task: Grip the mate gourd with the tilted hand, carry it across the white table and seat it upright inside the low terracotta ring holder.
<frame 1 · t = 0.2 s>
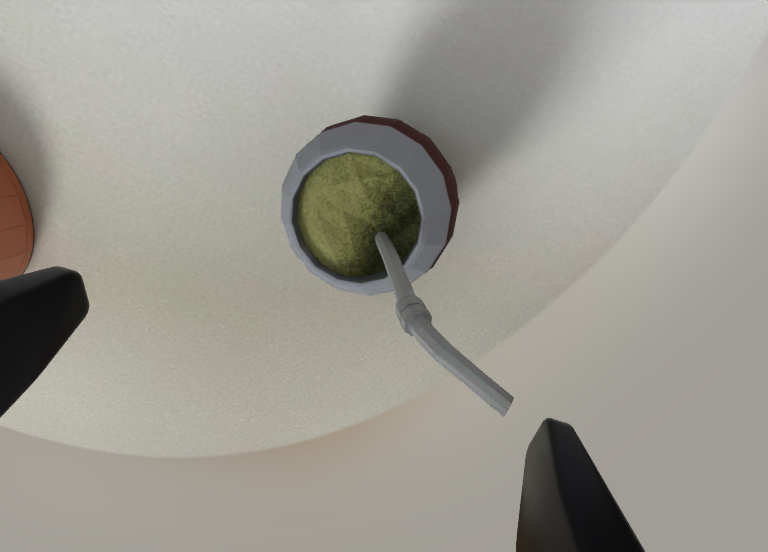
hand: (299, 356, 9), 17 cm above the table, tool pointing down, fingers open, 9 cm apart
mate gourd: (401, 190, 24), on the table
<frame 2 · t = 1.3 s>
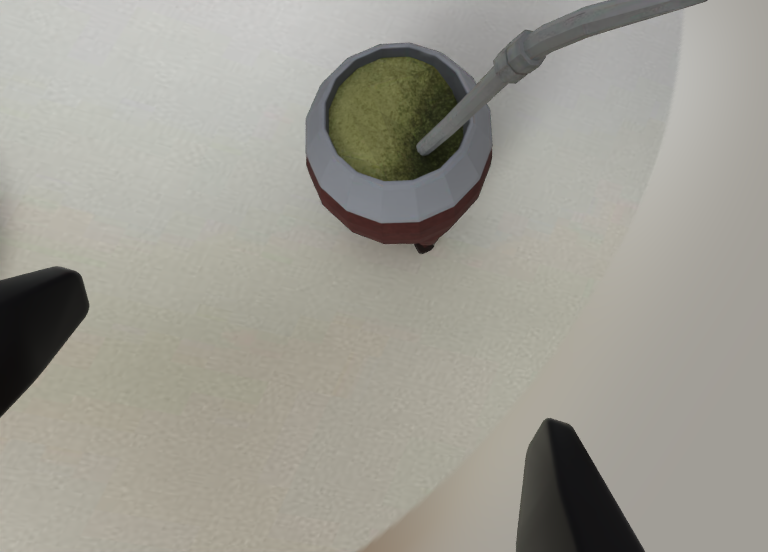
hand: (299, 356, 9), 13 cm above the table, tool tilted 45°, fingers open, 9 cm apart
mate gourd: (410, 197, 23), on the table
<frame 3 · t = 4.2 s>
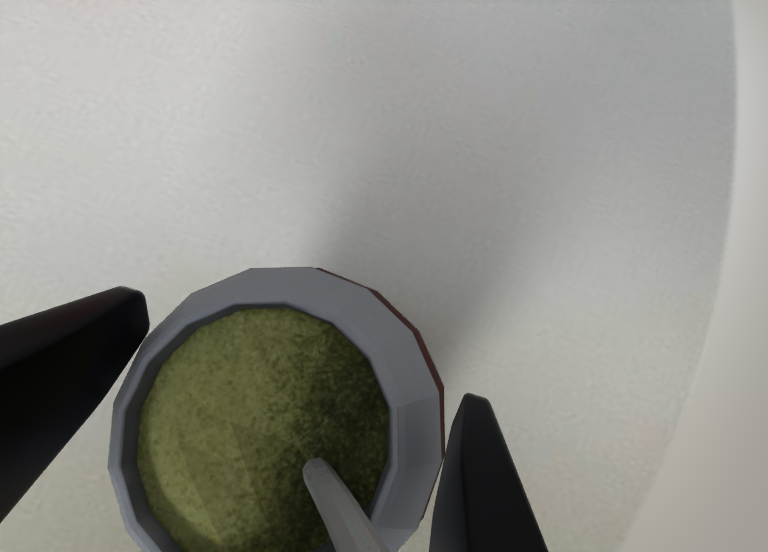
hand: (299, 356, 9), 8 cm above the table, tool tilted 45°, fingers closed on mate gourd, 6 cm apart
mate gourd: (343, 402, 16), on the table, touching gripper
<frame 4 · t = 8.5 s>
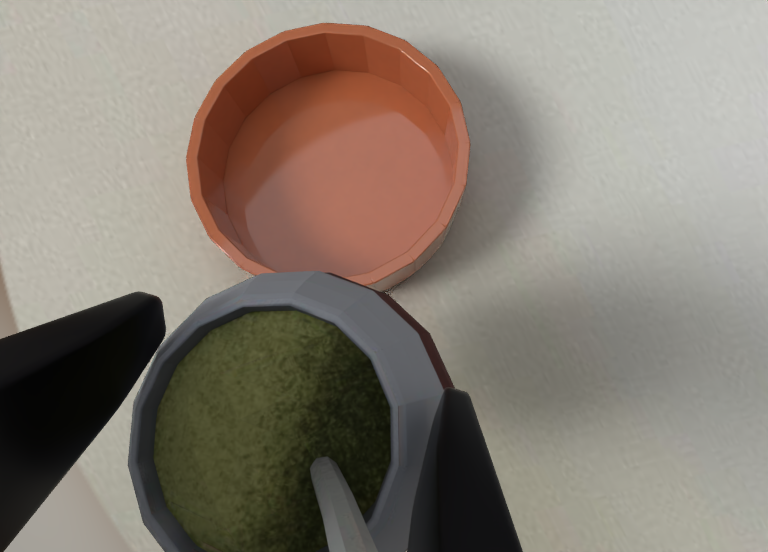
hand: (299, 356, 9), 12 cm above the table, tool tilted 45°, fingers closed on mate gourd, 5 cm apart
mate gourd: (365, 407, 16), point 4 cm above the table, touching gripper
holder: (338, 179, 22), on the table
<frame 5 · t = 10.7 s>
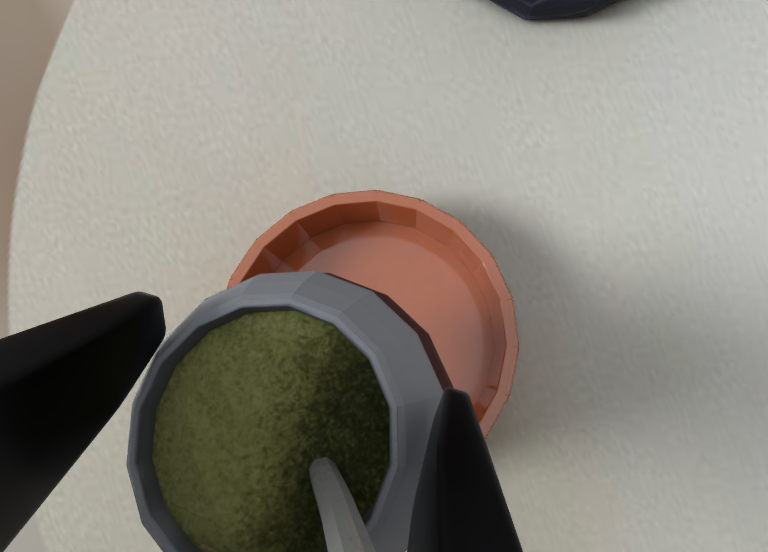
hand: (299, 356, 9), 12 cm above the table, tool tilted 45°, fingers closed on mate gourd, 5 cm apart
mate gourd: (364, 407, 16), point 4 cm above the table, touching gripper
holder: (371, 338, 21), on the table
when the fingers open (9 cm above the table, at t = 12.6 s): mate gourd stays where it is, resting on holder.
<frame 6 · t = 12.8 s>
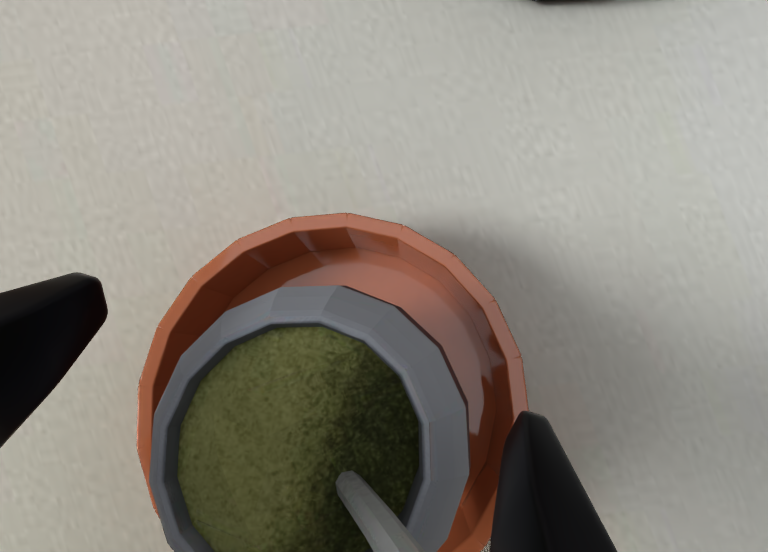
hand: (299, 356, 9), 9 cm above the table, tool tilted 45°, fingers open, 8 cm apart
mate gourd: (363, 413, 16), resting on holder, touching gripper
holder: (343, 394, 17), on the table
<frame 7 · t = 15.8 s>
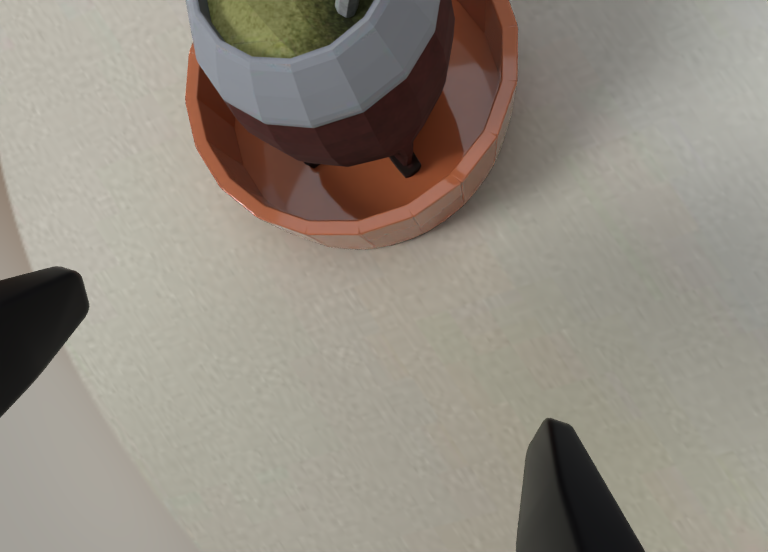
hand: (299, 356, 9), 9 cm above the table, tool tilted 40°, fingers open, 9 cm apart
mate gourd: (382, 113, 18), resting on holder
holder: (362, 108, 19), on the table
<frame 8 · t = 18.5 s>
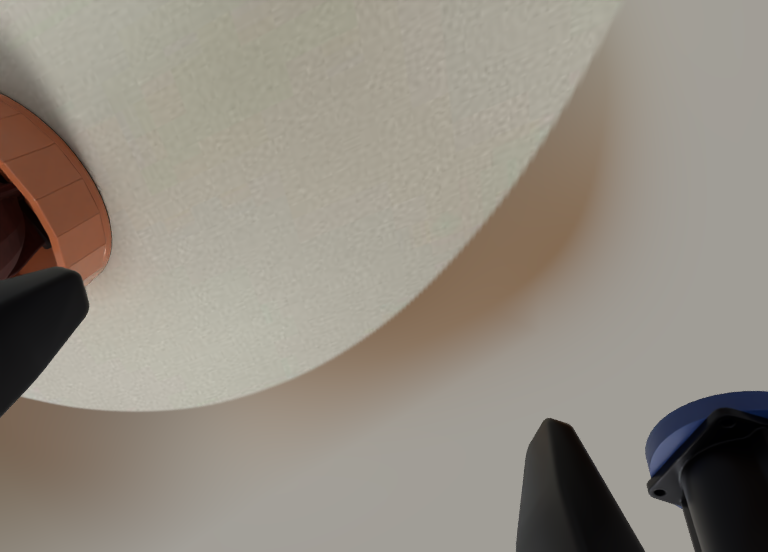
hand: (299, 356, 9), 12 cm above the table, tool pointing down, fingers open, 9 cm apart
mate gourd: (11, 184, 24), resting on holder
holder: (14, 195, 25), on the table
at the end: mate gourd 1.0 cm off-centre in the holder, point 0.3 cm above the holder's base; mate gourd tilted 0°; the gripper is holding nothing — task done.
